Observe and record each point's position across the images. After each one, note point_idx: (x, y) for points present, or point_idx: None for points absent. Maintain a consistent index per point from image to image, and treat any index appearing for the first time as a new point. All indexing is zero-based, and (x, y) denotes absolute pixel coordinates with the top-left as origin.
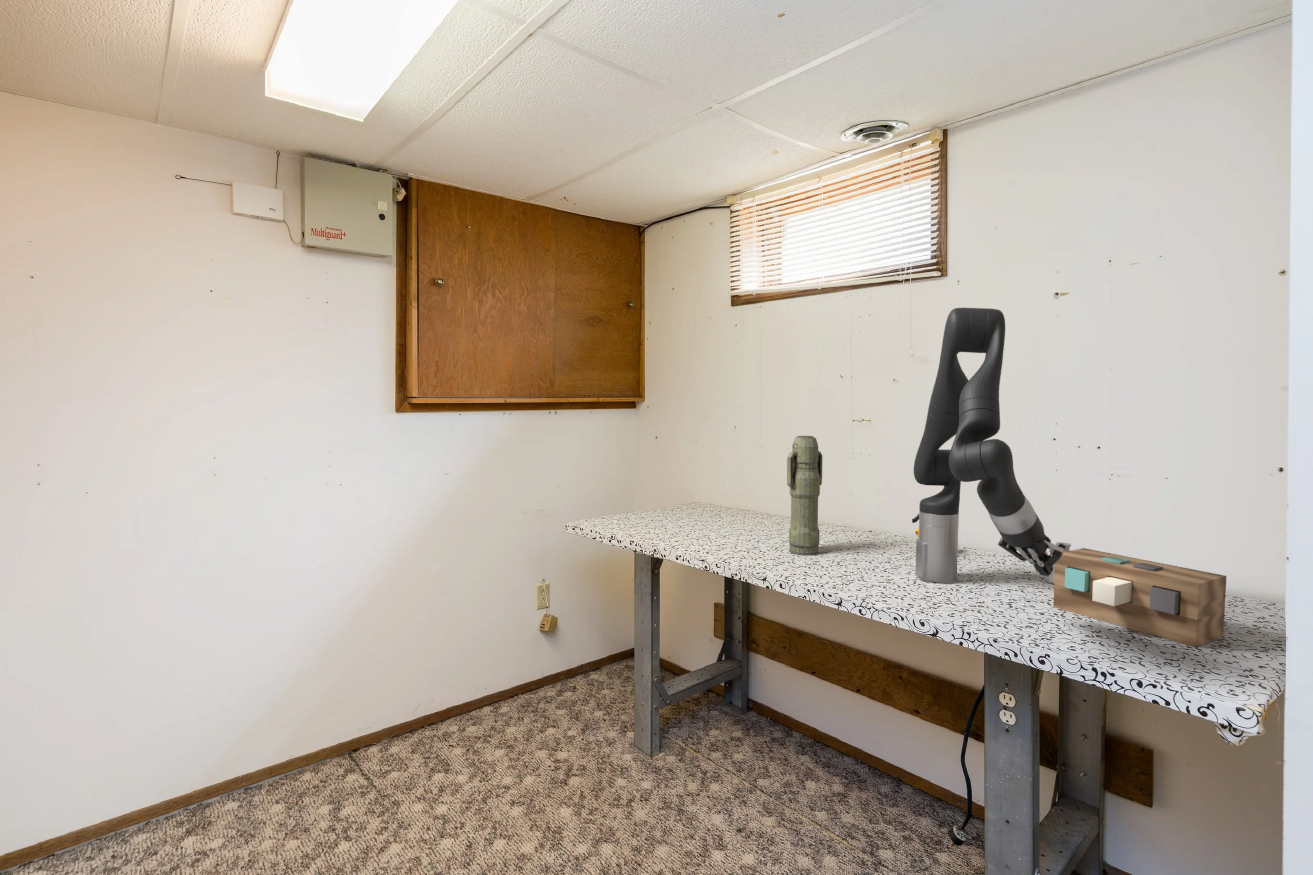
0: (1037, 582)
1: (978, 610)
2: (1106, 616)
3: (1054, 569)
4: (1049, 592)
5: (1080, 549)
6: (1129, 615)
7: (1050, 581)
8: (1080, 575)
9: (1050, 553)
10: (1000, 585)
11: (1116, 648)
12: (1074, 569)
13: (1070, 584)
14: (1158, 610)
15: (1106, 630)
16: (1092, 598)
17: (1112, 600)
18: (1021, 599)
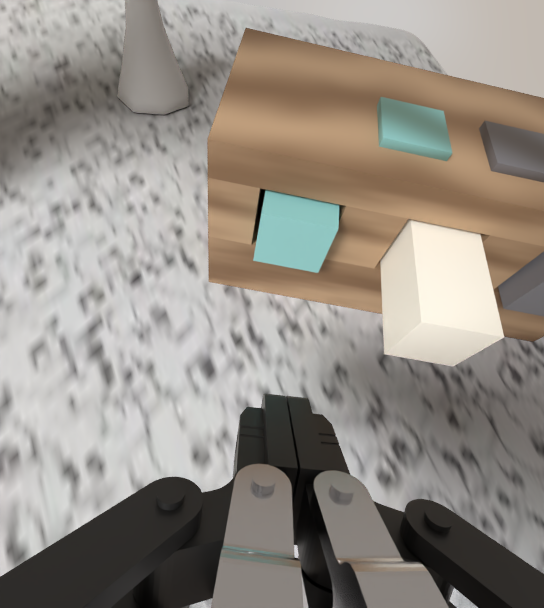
0: (106, 119)
1: (10, 533)
2: (353, 299)
3: (135, 70)
4: (156, 173)
5: (247, 45)
6: None
7: (134, 108)
8: (318, 234)
9: (427, 544)
10: (23, 191)
11: (484, 529)
12: (287, 201)
13: (274, 255)
14: (525, 312)
15: (383, 377)
16: (388, 352)
17: (458, 358)
18: (114, 276)
